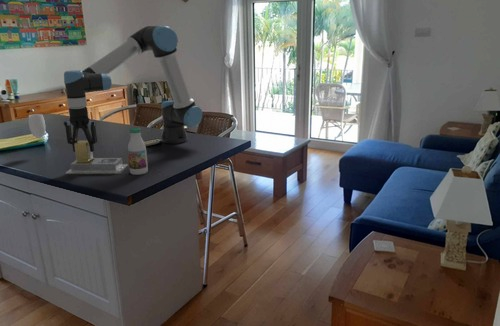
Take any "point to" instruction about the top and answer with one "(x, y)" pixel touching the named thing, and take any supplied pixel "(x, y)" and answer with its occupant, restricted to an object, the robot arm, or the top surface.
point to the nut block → (82, 152)
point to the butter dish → (98, 166)
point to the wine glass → (37, 125)
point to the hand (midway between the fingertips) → (84, 158)
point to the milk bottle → (137, 153)
